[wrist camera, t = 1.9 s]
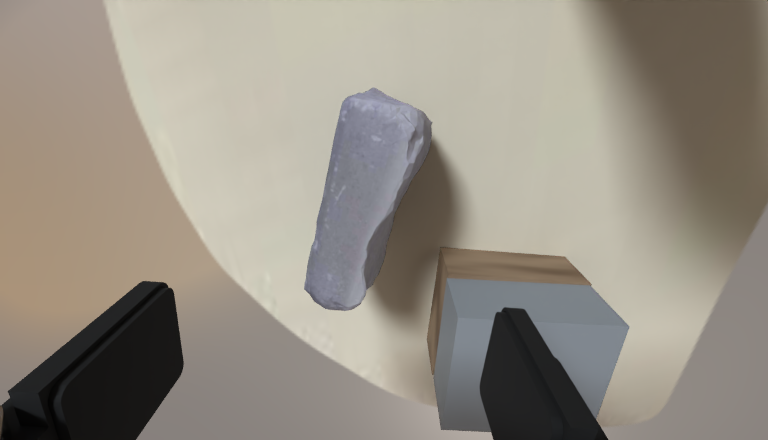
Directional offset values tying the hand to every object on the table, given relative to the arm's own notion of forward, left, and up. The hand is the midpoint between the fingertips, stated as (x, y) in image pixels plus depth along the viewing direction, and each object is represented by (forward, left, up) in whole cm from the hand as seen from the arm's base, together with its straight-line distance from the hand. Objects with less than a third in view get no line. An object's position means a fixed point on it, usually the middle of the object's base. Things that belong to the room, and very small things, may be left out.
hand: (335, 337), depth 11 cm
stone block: (0, 0, -18) cm, 18 cm away
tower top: (+10, +11, -14) cm, 20 cm away
